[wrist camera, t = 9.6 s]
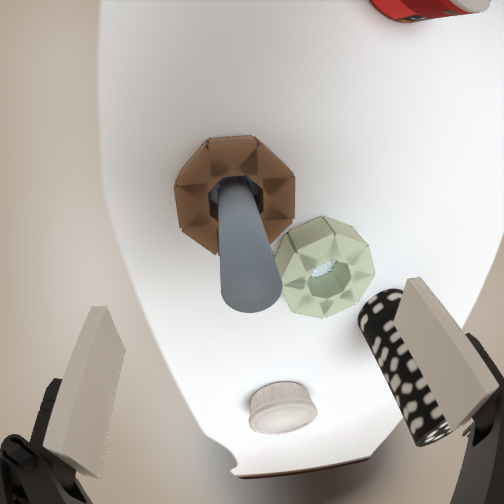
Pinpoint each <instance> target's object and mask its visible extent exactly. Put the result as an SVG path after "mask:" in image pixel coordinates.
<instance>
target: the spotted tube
mask: <svg viewBox="0 0 504 504" xmlns="http://www.w3.org/2000/svg"><path fill="white" fill-rule="evenodd" d="M402 295H403V291H402V290H399V289H389V290H385V291H383V292H380V293H379V294H377V295H375V296H374V297H372V298H371V299H370V300H369V301H368V302H367V303H366V304H365V305H364V307H363V308H362V310H361V311H360V314H359V317H358V325H359V328H360V329H361V331H362V333H363V335H364V337H365V339H366V341H367V343H368V345H369V347H370V349H371V351H372V353H373V355H374V357H375V359H376V361H377V363H378V365H379V367H380V369H381V371H382V373H383V375H384V377H385V379H386V381H387V383H388V385H389V387H390V389H391V391H392V393H393V395H394V398H395V400H396V402H397V404H398V406H399V408H400V410H401V413H402V415H403V417H404V419H405V421H406V423H407V426H408V428H409V430H410V432H411V435H412V437H413V439H414V442H415V444H416V446H417V447H423V446H426V445H429V444H431V443H434V442H436V441H437V440H440V439H441V438H443V437H445V436H447V435H448V434H450V433H451V432H453V431H454V430H453V431H451V430H450V428H449V426H448V423H447V421H446V419H445V417H444V415H443V413H442V411H441V409H440V407H439V405H438V403H437V401H436V399H435V397H434V395H433V394H432V392H431V390H430V388H429V386H428V384H427V382H426V380H425V378H424V377H423V375H422V373H421V371H420V369H419V367H418V366H417V364H416V362H415V360H414V358H413V357H412V355H411V353H410V351H409V350H408V348H407V346H406V344H405V343H404V341H403V339H402V338H401V336H400V334H399V332H398V331H397V329H396V327H395V326H394V324H393V321H394V319H395V316H396V313H397V310H398V307H399V304H400V301H401V298H402ZM455 430H456V429H455Z"/></svg>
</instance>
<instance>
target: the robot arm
mask: <svg viewBox="0 0 504 504" xmlns="http://www.w3.org/2000/svg"><path fill="white" fill-rule="evenodd" d="M393 324H394V326H395V327H396V329H397V331H398V332H399V334H400V336H401V338H402V339H403V341H404V343H405V344H406V346H407V348H408V350H409V351H410V353H411V355H412V357H413V358H414V360H415V362H416V364H417V366H418V367H419V369H420V371H421V373H422V375H423V377H424V378H425V380H426V382H427V384H428V386H429V388H430V390H431V392H432V394H433V395H434V397H435V399H436V401H437V403H438V405H439V407H440V409H441V411H442V413H443V415H444V417H445V419H446V421H447V423H448V426H449V428H450V430H451V431H453V430H455V429H457V428H459V427H461V426H463V425H465V424H466V423H467V422H468V421H469V420H470V419H471V418H473V420H474V422H473V423H472V424H471V425H470V426H469V427H468V428H467V429H466V430H465V431H464V432H463V435H462V436H465V435H466V434H467V433H468V432H469V431H470V433H469V435H468V436H467V437H469V439H468V443H467V448H466V452H465V456H464V460H463V464H462V468H461V471H460V475H459V479H458V482H457V484H456V488H455V491H454V494H453V497H452V499H451V502H450V504H504V378H503V376H502V374H501V373H500V371H499V370H498V368H497V367H496V365H495V364H494V362H493V361H492V360H491V358H490V357H489V355H488V354H487V352H486V351H484V348H483V346H482V345H481V344H480V342H479V341H478V340H477V339H476V338H475V337H474V336H472V335H471V334H470V333H467V334H464V332H463V331H462V330H461V328H460V327H459V326H458V324H457V323H456V322H455V320H454V319H453V318H452V316H451V315H450V314H449V312H448V311H447V310H446V308H445V307H444V306H443V305H442V303H441V302H440V301H439V300H438V298H437V297H436V296H435V295H434V293H433V292H432V291H431V290H430V288H429V287H428V286H427V285H426V284H425V282H424V281H423V280H422V279H421V278H420V277H417V278H411V279H407V282H406V285H405V288H404V291H403V295H402V298H401V301H400V304H399V307H398V310H397V313H396V316H395V319H394V321H393ZM125 351H126V349H125V347H124V345H123V343H122V341H121V338H120V336H119V334H118V332H117V329H116V327H115V325H114V323H113V320H112V318H111V315H110V313H109V311H108V308H107V306H98V307H91V309H90V312H89V314H88V316H87V318H86V320H85V323H84V325H83V328H82V330H81V332H80V335H79V337H78V340H77V342H76V345H75V347H74V350H73V352H72V355H71V358H70V360H69V363H68V366H67V369H66V371H65V374H64V377H63V379H57V378H54V379H53V381H52V382H51V383H50V384H49V386H48V387H47V389H46V391H45V394H44V397H43V401H42V403H41V406H40V411H39V412H38V415H37V419H36V422H35V425H34V428H33V432H32V435H31V439H30V442H28V441H27V440H25V439H24V438H23V437H21V436H20V435H16V434H12V435H9V436H8V437H6V438H5V439H4V441H3V443H2V444H1V448H0V504H93V503H92V502H91V500H90V499H89V497H88V496H87V494H86V492H85V491H84V489H83V487H82V486H81V484H80V482H79V481H78V479H77V478H76V477H75V474H76V471H77V472H79V473H80V474H82V475H83V476H87V477H92V478H97V479H101V477H102V469H103V461H104V455H105V448H106V442H107V436H108V430H109V425H110V419H111V414H112V409H113V404H114V399H115V394H116V389H117V384H118V380H119V376H120V371H121V367H122V363H123V359H124V355H125Z"/></svg>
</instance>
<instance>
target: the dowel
mask: <svg viewBox="0 0 504 504" xmlns="http://www.w3.org/2000/svg"><path fill="white" fill-rule="evenodd" d="M218 215H219V249H220V276H221V294H222V297H223V299H224V301H225V302H226V304H227V305H228V306H230V307H231V308H233V309H234V310H237V311H240V312H245V313H254V312H259V311H262V310H265V309H267V308H269V307H270V306H272V305H273V304H274V303H275V302H276V301H277V300H278V298H279V297H280V295H281V292H282V287H283V286H282V280H281V277H280V274H279V271H278V268H277V265H276V262H275V259H274V256H273V253H272V250H271V247H270V244H269V241H268V238H267V235H266V232H265V229H264V226H263V223H262V220H261V217H260V214H259V211H258V208H257V206H256V203H255V200H254V197H253V194H252V191H251V188H250V185H249V182H248V180H247V179H246V178H245V177H244V176H243V175H242V176H228V177H222V178H221V180H220V181H219V184H218Z"/></svg>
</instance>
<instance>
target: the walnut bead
mask: <svg viewBox="0 0 504 504" xmlns="http://www.w3.org/2000/svg"><path fill="white" fill-rule="evenodd" d="M242 175H247V176H248V177H249V178H250V179H251V180H253V181H254V182H255V183H256V184H257V186H258V196H257V197H256V198H255V199H254V200H255V203H256V206H257V208H258V211H259V214H260V217H261V220H262V223H263V226H264V229H265V232H266V235H267V238H268V241H269V244H271V243H272V242H273V241H274V240H275V239H276V238H277V237H278V236H279V235H280V234H281V233H282V232H283V231H284V230H285V229H286V228H287V227H288V226H289V225H290V224H291V223H292V222H293V221H292V219H294V215H295V176H294V175H293V173H292V171H291V170H290V169H289V168H288V167H287V166H286V165H285V164H284V163H283V162H282V161H281V160H280V159H279V158H278V157H277V156H276V155H275V154H274V153H272V152H271V151H270V150H269V149H268V148H267V147H266V146H265V145H264V144H263V143H261V142H260V141H259V140H258V139H257V138H256V137H254V138H253V137H252V135H249V136H233V137H219V138H210V139H209V141H207V140H206V141H205V142H204V143H203V144H202V146H201V147H200V148H199V149H198V150H197V151H196V153H195V154H194V155H193V156H192V157H191V158H190V160H189V161H188V162H187V163H186V164H185V166H184V167H183V168H182V169H181V170H180V172H179V175H178V177H177V179H176V181H175V185H174V192H175V199H176V206H177V213H178V220H179V226H180V228H182V232H184V233H185V234H186V235H188V236H189V237H191V238H192V239H193V240H195V241H196V242H197V243H199V244H200V245H202V246H203V247H204V248H206V249H207V250H209V251H210V252H212V253H213V254H214V255H216V254H217V253H218V256H220V249H219V215H218V205H217V204H216V203H215V202H213V201H212V200H211V199H210V191H211V190H212V188H213V187H214V186H215V185H216V184H217V183H218V182H219V181H220V179H221V178H222V177H228V176H242Z"/></svg>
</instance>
